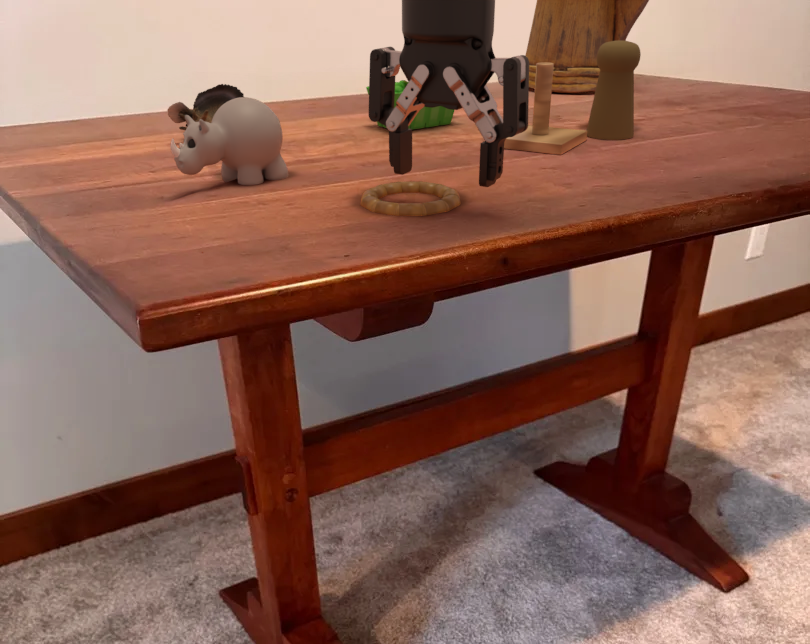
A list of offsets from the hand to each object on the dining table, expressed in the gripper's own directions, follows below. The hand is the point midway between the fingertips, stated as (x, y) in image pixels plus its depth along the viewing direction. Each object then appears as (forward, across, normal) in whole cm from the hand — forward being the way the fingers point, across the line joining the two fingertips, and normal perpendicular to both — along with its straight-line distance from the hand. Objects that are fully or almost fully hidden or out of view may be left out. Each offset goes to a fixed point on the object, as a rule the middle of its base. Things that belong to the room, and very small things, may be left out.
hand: (444, 178), depth 71 cm
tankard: (+3, -14, +77) cm, 78 cm away
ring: (+3, -4, 0) cm, 4 cm away
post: (+3, -4, +32) cm, 33 cm away
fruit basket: (+4, -23, +35) cm, 42 cm away
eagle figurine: (+4, -42, +15) cm, 44 cm away
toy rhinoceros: (+4, -24, -2) cm, 24 cm away
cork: (+3, +2, +41) cm, 41 cm away
